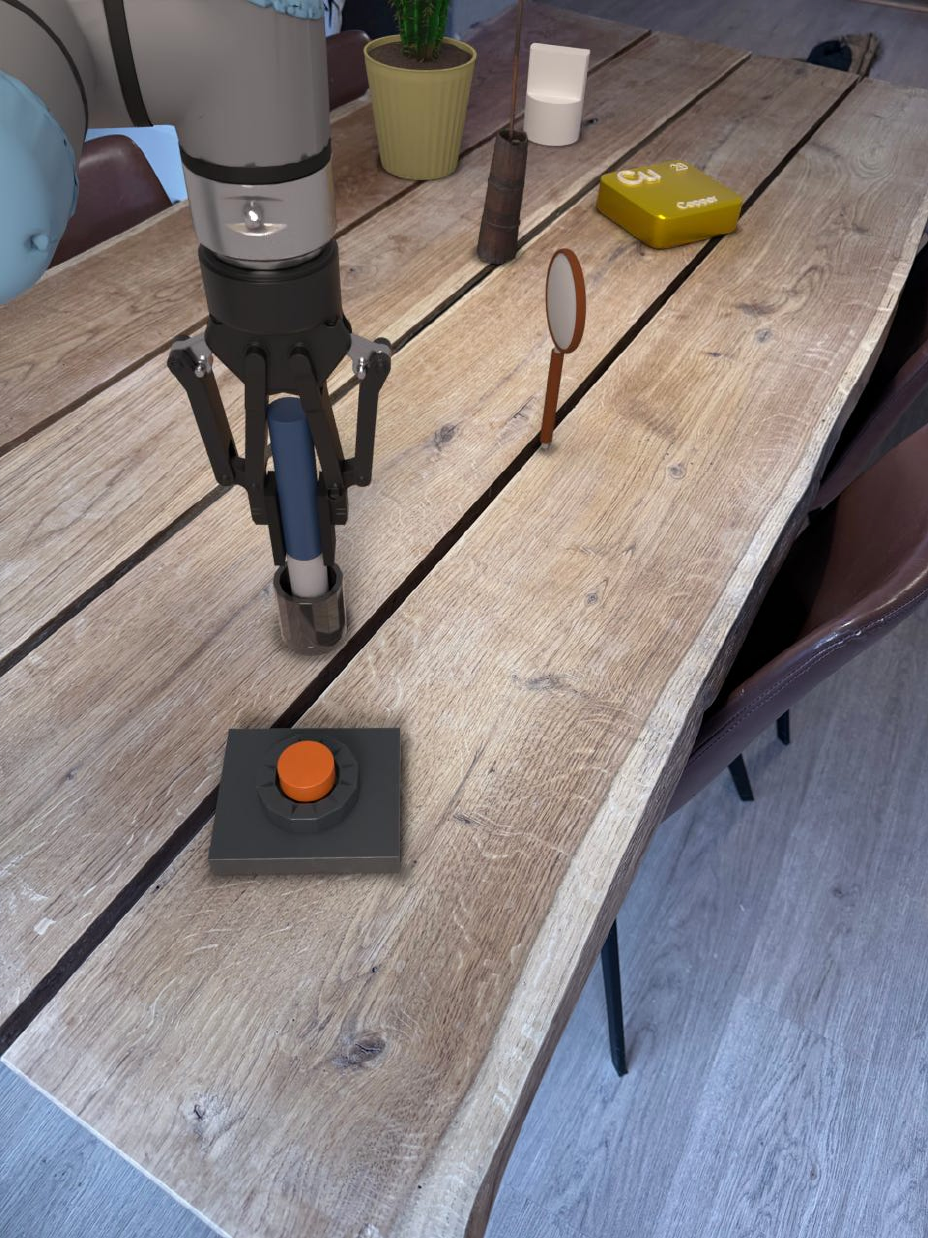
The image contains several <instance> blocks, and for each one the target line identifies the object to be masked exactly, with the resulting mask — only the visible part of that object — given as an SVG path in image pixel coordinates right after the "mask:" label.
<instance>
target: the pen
mask: <svg viewBox="0 0 928 1238" xmlns="http://www.w3.org/2000/svg"><path fill="white" fill-rule="evenodd" d="M266 416H267V423H268V438H269V444H270V451H271V457H272V464H273V471H274V472H275V478H276V485H277V492H278V499H279V506H280V513H281V520H282V527H283V534H284V541H285V548H286V561H287V562H288V569H289V576H290V583H291V590H292V597H295V598H299V599H313V598H317V597H320V596H323V595H325V594H326V593H328V592H329V586H328V576H327V566H324V564H323V555H322V545H321V535H320V526H319V516H318V506H317V488H318V478H319V474H318V466H317V457H316V455H317V453H316V448H315V445H314V441H313V437H312V434H311V430H310V427H309V423H308V419H307V416H306V413H305V412H304V411H303V409H302V405H301V401H300V398H299V397H298V396H297V397H296V396H283V397H279V398H277V399H276V398H275V399H274V400H272V401H270V402H269V405H268V407H267V413H266Z"/></svg>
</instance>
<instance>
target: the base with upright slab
mask: <svg viewBox="0 0 928 1238" xmlns="http://www.w3.org/2000/svg"><path fill="white" fill-rule="evenodd" d="M590 54H591V49H587V48H579V47H572V46H571V47H570V46H563V45H554V44H547V43H540V42H539V43H538V42H533V43H532V44H531V45H530V47H529V55H528V57H529V58H528V66H527V67H528V68H527V81H526V92H525V103H524V112H523V113H524V114H523V115H524V116H523V127H522V132H523V131H525V132H526V133H527V137H528V141H530V142H532V143H535V144H538V145H543V146H548V147H549V146H551V147H562V146H563V147H564V146H568V145H572V144H574V143H576V142H578V140H579V139H580V132H581V123H582V117H583V116H582V115H583V107H584V100H585V94H586V93H585V92H586V84H587V77H588V70H589V62H590V56H591V55H590Z"/></svg>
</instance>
